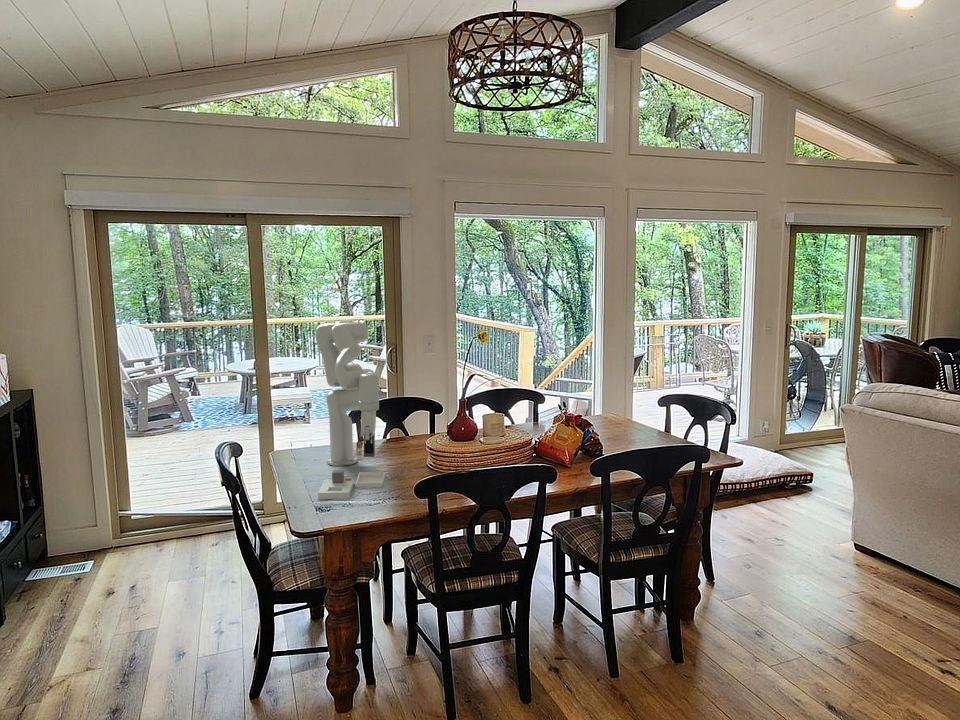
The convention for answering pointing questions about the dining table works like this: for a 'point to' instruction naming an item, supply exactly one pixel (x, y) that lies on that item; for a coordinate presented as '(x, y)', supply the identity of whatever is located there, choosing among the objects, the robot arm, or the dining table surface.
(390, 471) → the dining table surface
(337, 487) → the socket strip
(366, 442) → the robot arm
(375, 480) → the tray
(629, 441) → the dining table surface
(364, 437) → the plug
